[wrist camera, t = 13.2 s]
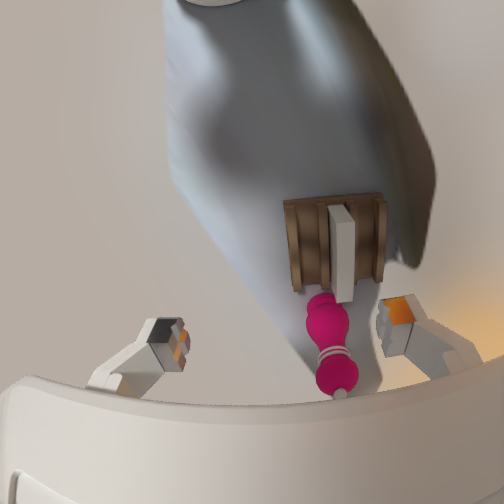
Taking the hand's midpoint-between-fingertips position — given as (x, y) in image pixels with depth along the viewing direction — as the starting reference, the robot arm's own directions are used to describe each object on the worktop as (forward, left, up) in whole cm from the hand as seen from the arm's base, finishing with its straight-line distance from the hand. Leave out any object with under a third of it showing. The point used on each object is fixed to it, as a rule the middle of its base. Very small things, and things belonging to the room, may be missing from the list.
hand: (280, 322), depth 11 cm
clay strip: (+12, +8, -30) cm, 33 cm away
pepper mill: (+25, +6, -32) cm, 40 cm away
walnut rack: (+12, +8, -31) cm, 34 cm away
